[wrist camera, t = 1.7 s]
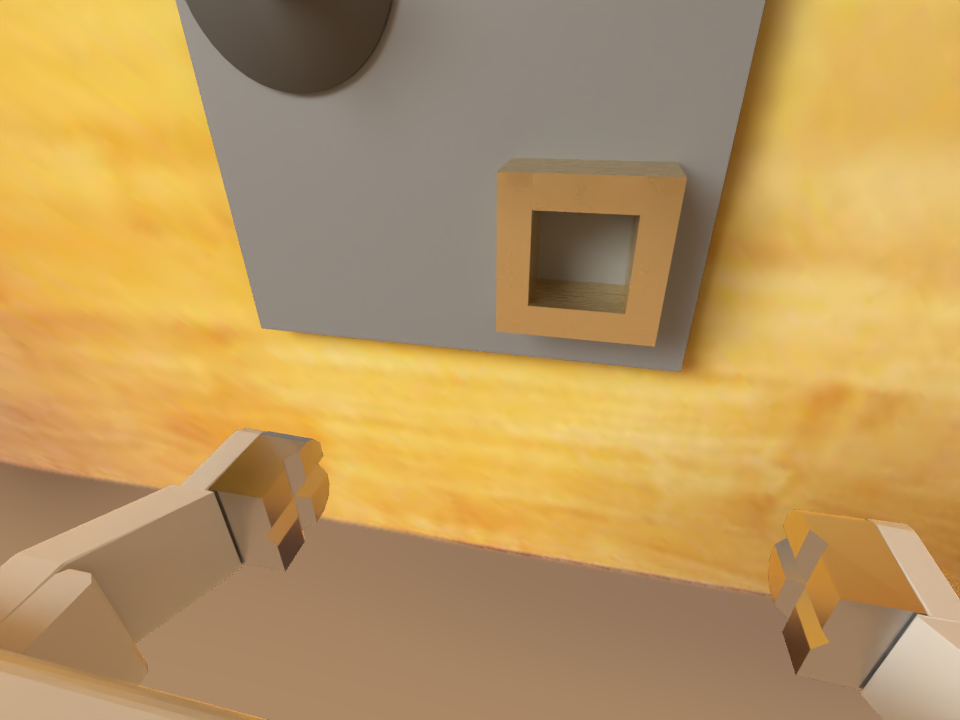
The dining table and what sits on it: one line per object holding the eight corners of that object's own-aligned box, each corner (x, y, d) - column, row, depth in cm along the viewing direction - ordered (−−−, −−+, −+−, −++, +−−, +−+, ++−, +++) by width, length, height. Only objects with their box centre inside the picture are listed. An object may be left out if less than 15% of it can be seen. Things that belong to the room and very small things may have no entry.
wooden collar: (677, 162, 19) (687, 177, 17) (650, 314, 22) (654, 346, 20) (511, 157, 20) (496, 171, 18) (508, 302, 24) (495, 331, 21)
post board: (833, -354, 13) (1034, -730, 7) (677, 356, 25) (699, 460, 18) (141, -245, 18) (-127, -417, 11) (276, 316, 29) (180, 390, 23)
